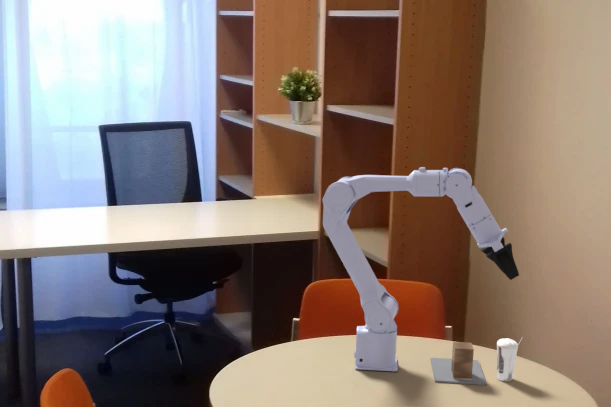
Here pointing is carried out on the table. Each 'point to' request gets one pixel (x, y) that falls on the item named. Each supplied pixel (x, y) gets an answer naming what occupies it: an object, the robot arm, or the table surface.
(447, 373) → the mat
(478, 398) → the table surface
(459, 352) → the walnut block
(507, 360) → the milkshake
